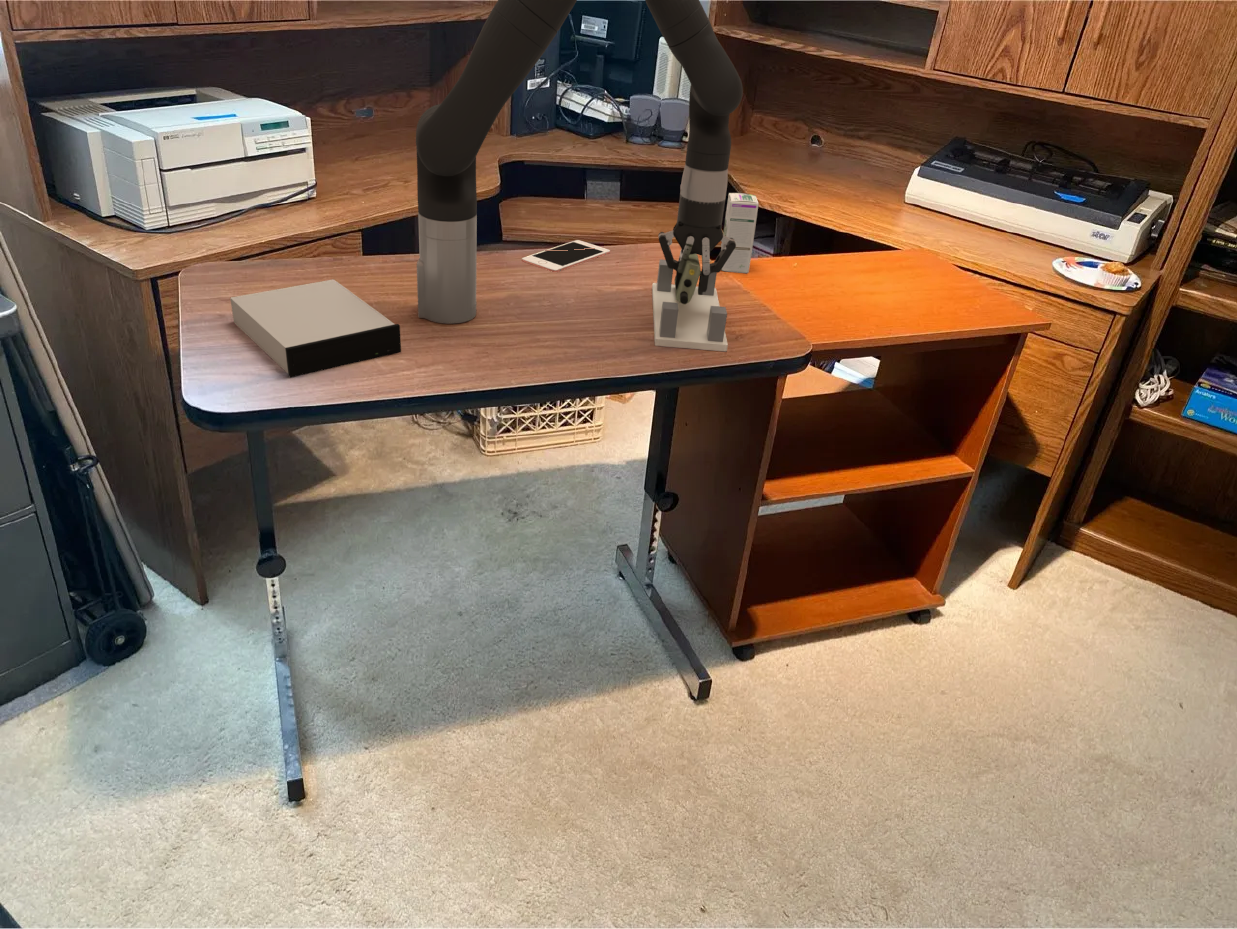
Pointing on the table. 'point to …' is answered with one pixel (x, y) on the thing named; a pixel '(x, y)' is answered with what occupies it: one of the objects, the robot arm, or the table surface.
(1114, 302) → the table surface
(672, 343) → the rack
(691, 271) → the handheld radio
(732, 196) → the syrup box
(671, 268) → the robot arm
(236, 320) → the disc drive
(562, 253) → the cell phone
